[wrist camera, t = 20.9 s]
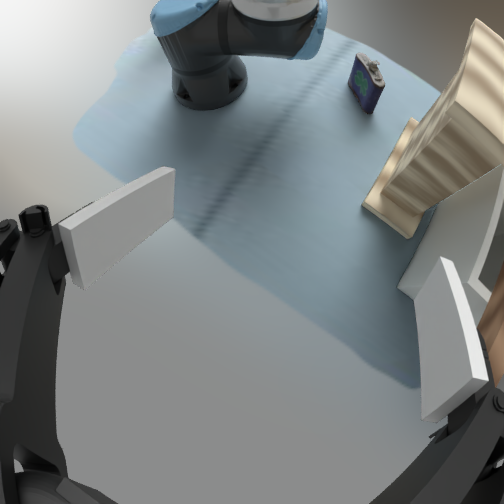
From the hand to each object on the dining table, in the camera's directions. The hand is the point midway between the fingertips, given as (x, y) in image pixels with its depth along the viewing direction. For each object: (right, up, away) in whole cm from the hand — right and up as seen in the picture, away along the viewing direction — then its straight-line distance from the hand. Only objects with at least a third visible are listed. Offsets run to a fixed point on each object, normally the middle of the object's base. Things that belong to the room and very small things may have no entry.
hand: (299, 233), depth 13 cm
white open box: (+32, -3, +30) cm, 44 cm away
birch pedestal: (+26, +13, +32) cm, 44 cm away
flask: (+19, +30, +35) cm, 50 cm away
